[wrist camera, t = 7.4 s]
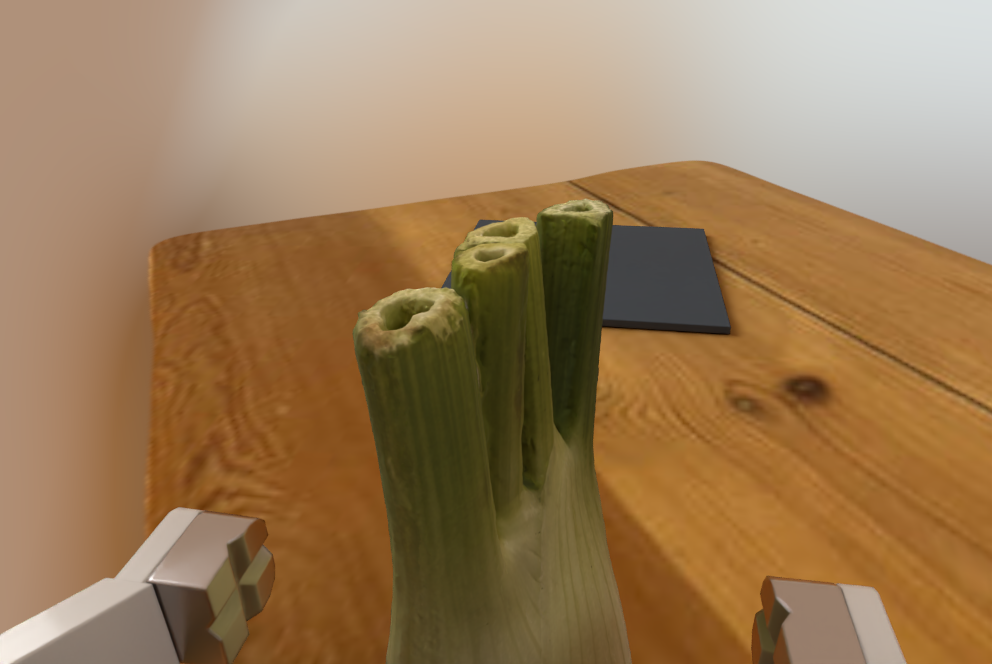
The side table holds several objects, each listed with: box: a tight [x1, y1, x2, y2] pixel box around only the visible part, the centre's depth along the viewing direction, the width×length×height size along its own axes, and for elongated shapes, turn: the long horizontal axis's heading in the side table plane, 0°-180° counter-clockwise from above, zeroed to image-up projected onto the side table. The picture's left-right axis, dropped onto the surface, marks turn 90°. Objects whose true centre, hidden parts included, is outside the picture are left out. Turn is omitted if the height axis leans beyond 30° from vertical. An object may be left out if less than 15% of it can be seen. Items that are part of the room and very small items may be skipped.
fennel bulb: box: [353, 199, 632, 664], centre depth 12 cm, size 6×5×12 cm
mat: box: [441, 220, 731, 334], centre depth 38 cm, size 14×13×1 cm
